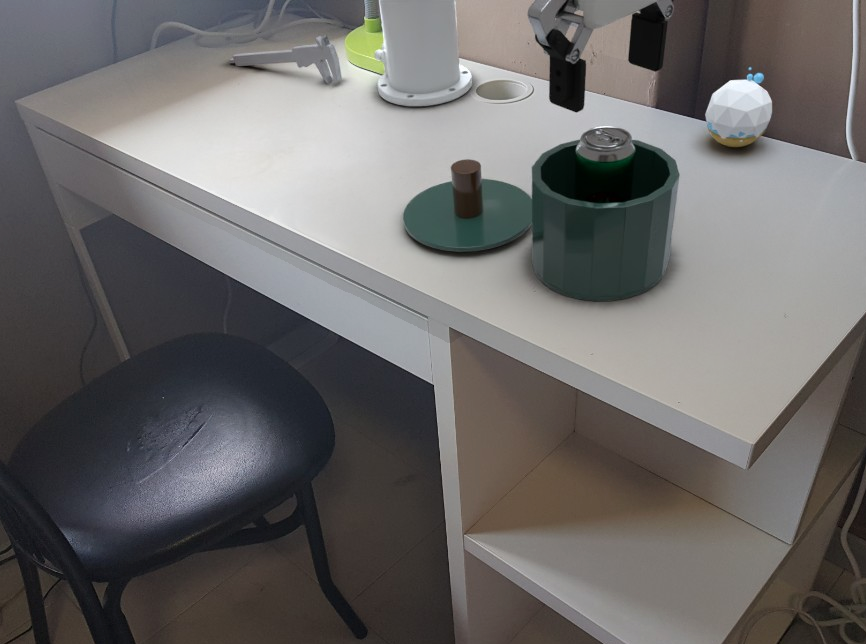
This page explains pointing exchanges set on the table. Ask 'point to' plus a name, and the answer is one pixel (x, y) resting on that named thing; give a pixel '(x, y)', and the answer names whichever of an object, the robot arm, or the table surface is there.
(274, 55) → the caliper
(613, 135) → the soda can
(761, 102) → the ornament
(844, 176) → the table surface
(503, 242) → the lid
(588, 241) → the pot
